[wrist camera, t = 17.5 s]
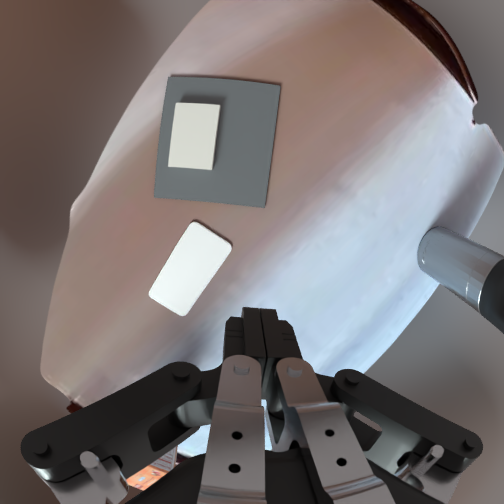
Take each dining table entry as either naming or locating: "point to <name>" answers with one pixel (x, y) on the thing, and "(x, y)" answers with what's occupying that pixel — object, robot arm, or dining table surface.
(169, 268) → the smartphone
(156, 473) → the cracker box
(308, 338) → the dining table surface
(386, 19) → the dining table surface
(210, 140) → the card box
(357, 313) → the dining table surface
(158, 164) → the mat
